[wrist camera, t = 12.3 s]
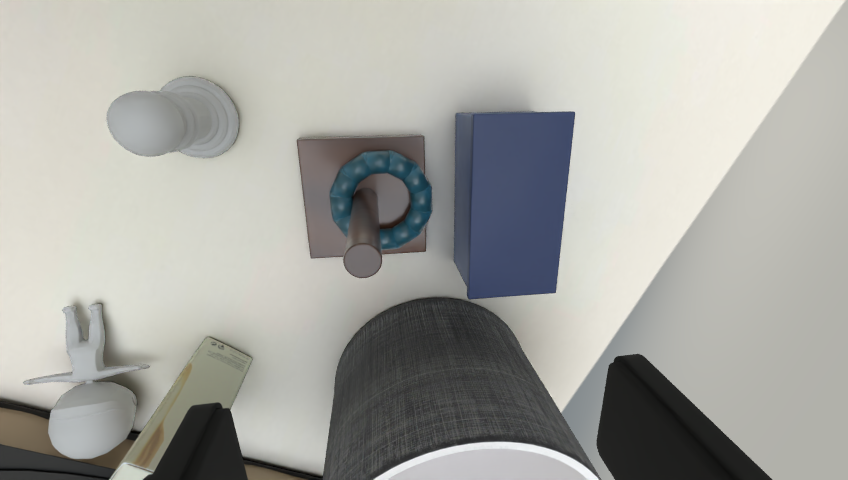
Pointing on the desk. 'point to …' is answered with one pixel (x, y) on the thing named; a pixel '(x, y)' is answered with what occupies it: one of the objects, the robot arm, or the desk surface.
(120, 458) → the file folder
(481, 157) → the box
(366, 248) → the peg
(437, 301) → the planter
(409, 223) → the ring
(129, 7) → the desk surface
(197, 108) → the chess piece
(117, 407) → the figurine
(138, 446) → the cosmetic box
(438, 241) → the desk surface
